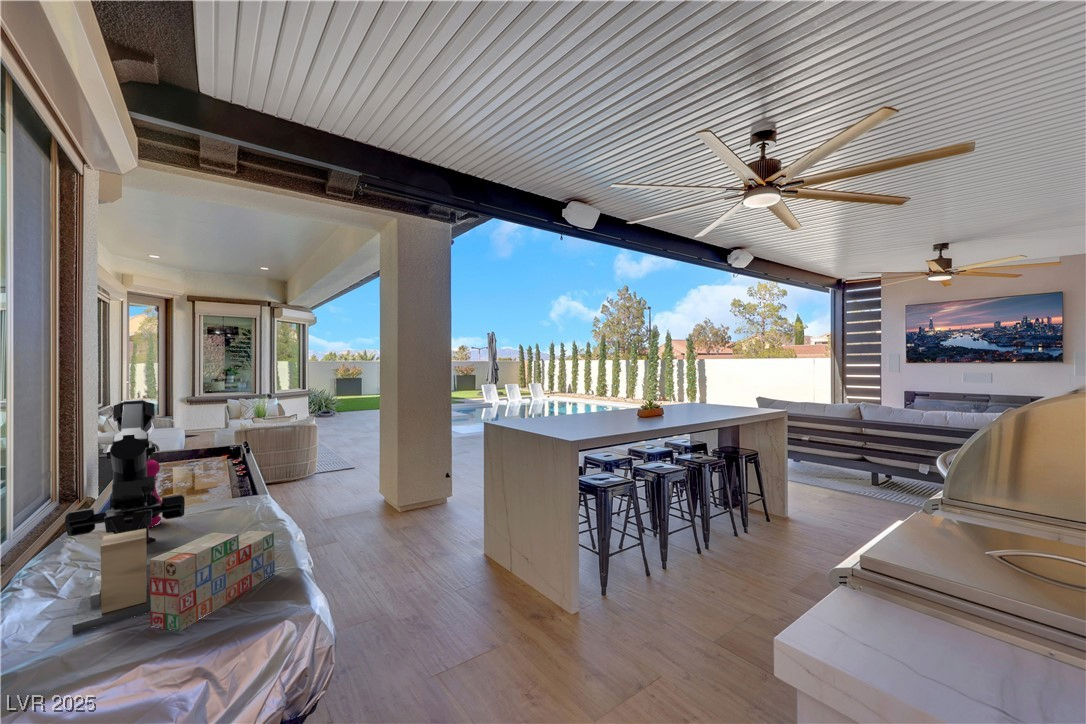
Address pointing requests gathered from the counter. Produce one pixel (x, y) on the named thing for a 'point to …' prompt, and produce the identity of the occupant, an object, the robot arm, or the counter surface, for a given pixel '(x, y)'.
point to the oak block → (123, 570)
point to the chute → (91, 607)
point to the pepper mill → (152, 471)
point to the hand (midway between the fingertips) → (128, 551)
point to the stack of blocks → (207, 575)
